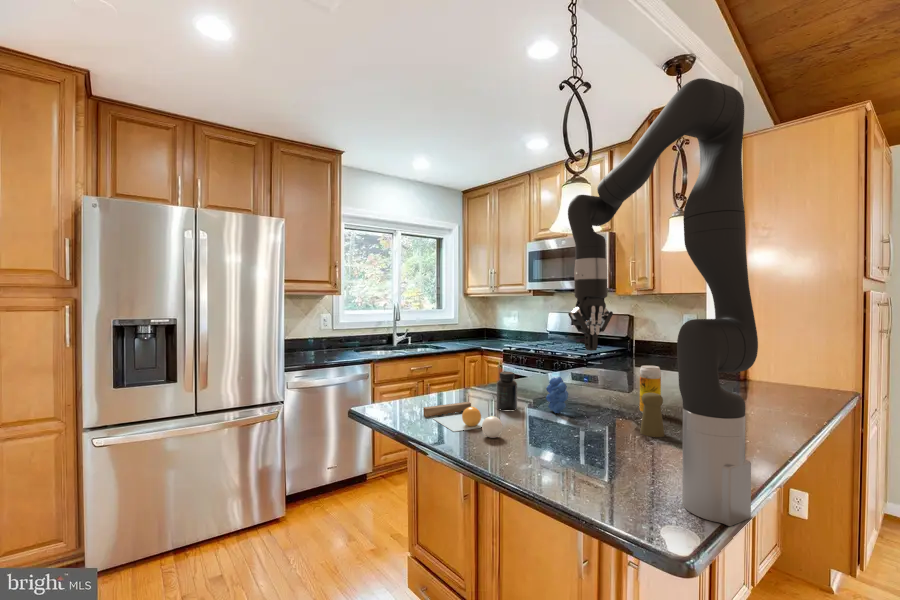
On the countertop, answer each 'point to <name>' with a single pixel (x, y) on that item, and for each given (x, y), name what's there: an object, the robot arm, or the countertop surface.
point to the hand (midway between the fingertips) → (591, 350)
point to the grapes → (557, 394)
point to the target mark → (456, 423)
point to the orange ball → (471, 416)
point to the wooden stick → (445, 409)
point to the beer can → (649, 381)
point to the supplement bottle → (506, 391)
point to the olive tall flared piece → (652, 415)
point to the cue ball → (492, 427)
